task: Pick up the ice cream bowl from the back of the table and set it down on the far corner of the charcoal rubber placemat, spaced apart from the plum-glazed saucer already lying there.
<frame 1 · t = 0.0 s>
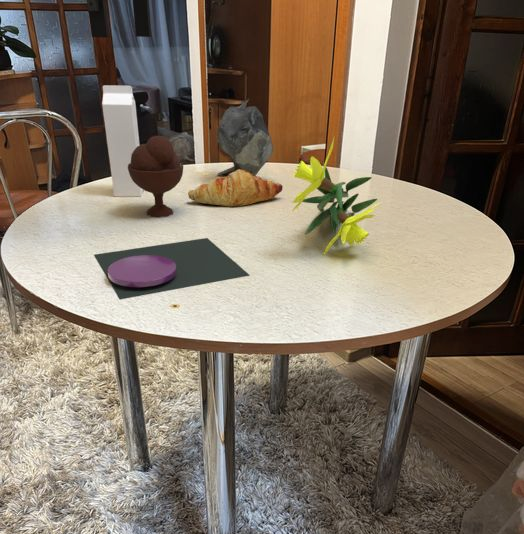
hand: (123, 37, 84), 31 cm above the table, tool pointing down, fingers open, 13 cm apart
croissant: (235, 201, 114), on the table
milk: (129, 193, 117), on the table
placemat: (169, 268, 81), on the table
ice cream bowl: (160, 214, 105), on the table
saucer: (143, 276, 77), point 1 cm above the table, touching placemat
daffodil flowers: (328, 235, 96), on the table
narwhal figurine: (244, 181, 128), on the table
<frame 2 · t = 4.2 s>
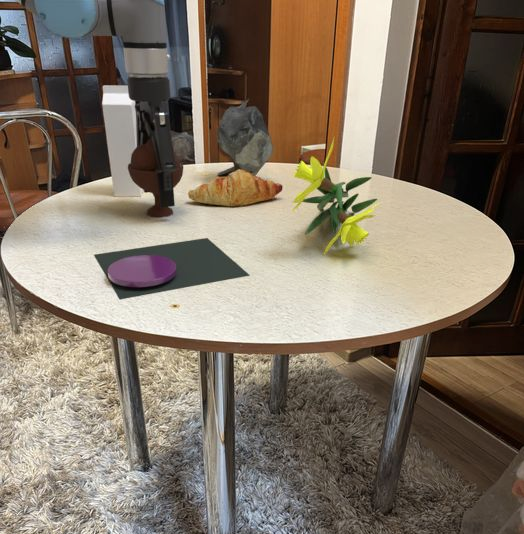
hand: (158, 198, 104), 3 cm above the table, tool pointing down, fingers closed on ice cream bowl, 11 cm apart
ice cream bowl: (160, 214, 105), on the table, touching gripper
everything else where it was.
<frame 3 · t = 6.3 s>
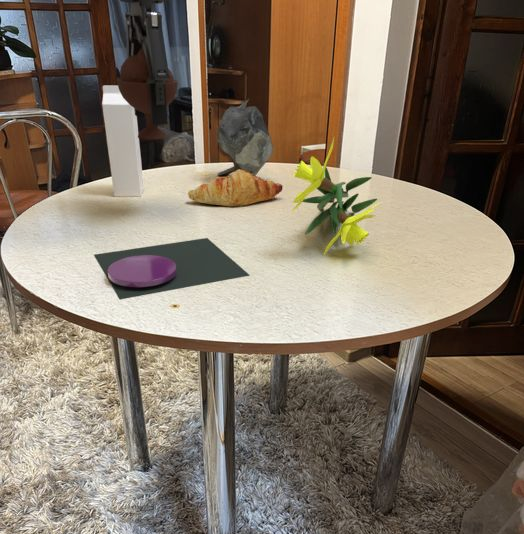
hand: (150, 119, 95), 18 cm above the table, tool pointing down, fingers closed on ice cream bowl, 11 cm apart
ice cream bowl: (152, 137, 97), point 15 cm above the table, touching gripper
everything else where it was.
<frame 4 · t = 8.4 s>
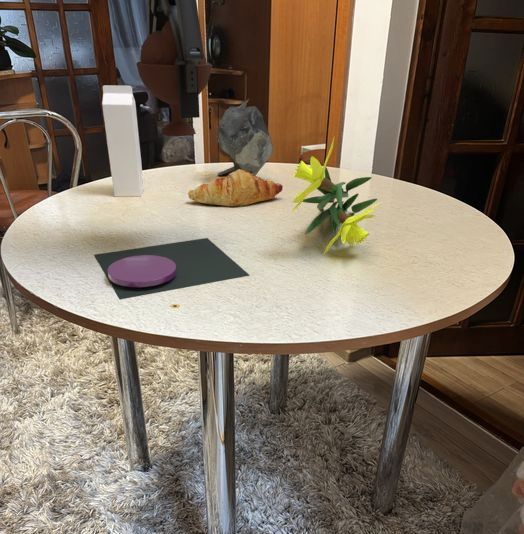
hand: (176, 112, 78), 22 cm above the table, tool pointing down, fingers closed on ice cream bowl, 11 cm apart
ice cream bowl: (178, 134, 79), point 18 cm above the table, touching gripper
everything else where it was.
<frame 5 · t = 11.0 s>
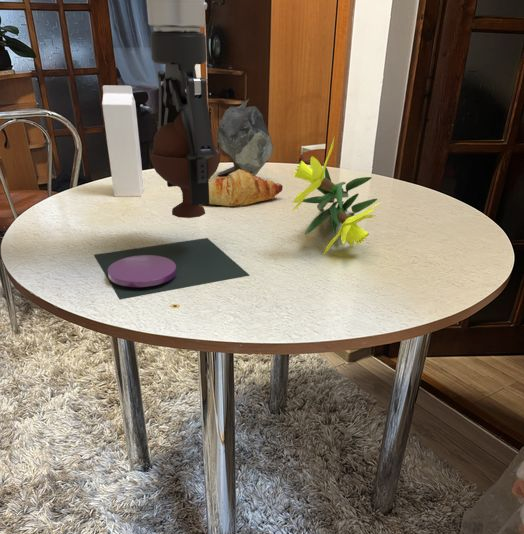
hand: (187, 194, 81), 10 cm above the table, tool pointing down, fingers closed on ice cream bowl, 11 cm apart
ice cream bowl: (188, 213, 83), point 7 cm above the table, touching gripper
everything else where it was.
when the fingers open (4 cm above the table, at t = 13.1 s): ice cream bowl stays where it is, resting on placemat.
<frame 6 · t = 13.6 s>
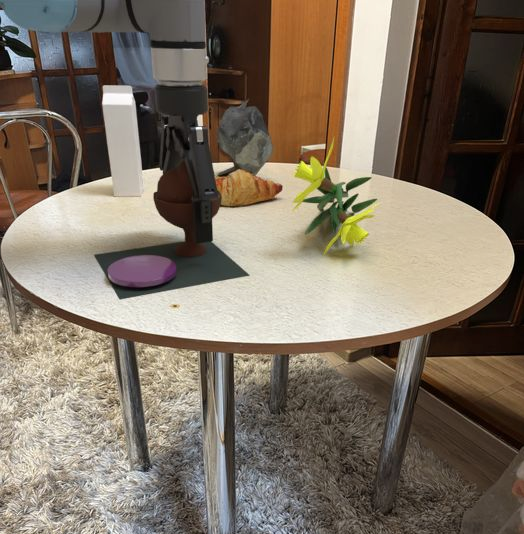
hand: (188, 228, 84), 5 cm above the table, tool pointing down, fingers open, 13 cm apart
ice cream bowl: (190, 252, 86), resting on placemat
everything else where it was.
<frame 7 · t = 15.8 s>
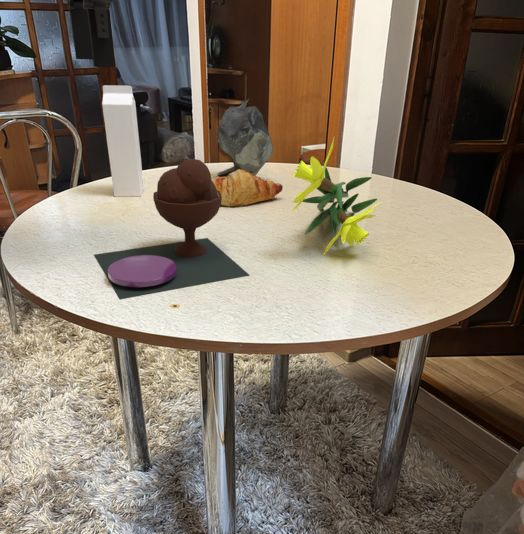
hand: (94, 63, 74), 28 cm above the table, tool pointing down, fingers open, 13 cm apart
nothing on the table moved.
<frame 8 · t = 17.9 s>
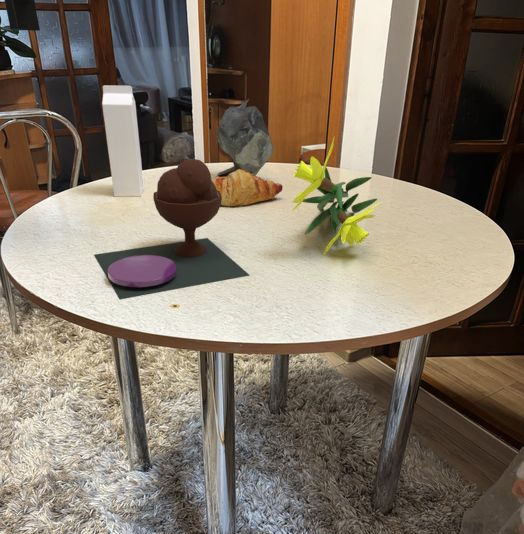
hand: (24, 30, 74), 32 cm above the table, tool pointing down, fingers open, 13 cm apart
nothing on the table moved.
at the end: ice cream bowl inside the target area on the placemat (0.5 cm from its centre), point 0.4 cm above the placemat's base; ice cream bowl tilted 0°; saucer moved 0.0 cm from its start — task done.
